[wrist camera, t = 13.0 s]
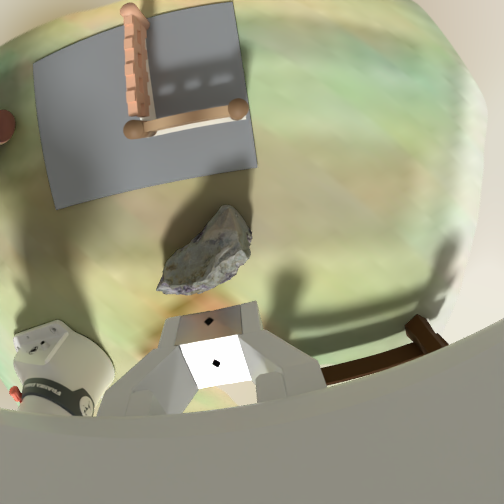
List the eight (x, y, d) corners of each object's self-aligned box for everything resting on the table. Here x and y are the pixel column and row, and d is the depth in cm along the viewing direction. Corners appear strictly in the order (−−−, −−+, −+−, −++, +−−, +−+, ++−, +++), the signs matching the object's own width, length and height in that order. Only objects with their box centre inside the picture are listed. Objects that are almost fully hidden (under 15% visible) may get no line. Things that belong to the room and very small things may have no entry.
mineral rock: (166, 288, 42) (151, 331, 33) (147, 215, 38) (122, 243, 28) (257, 275, 42) (265, 317, 33) (246, 198, 38) (252, 222, 29)
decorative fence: (255, 374, 49) (264, 446, 36) (250, 349, 47) (258, 425, 33) (430, 331, 50) (470, 382, 36) (435, 306, 47) (481, 356, 33)
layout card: (57, 209, 36) (55, 210, 35) (34, 63, 27) (32, 63, 27) (257, 167, 36) (257, 167, 36) (232, 3, 28) (232, 1, 27)
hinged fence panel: (154, 115, 32) (140, 113, 26) (140, 118, 32) (123, 116, 26) (149, 18, 27) (136, 0, 21) (135, 21, 27) (120, 5, 21)
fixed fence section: (143, 138, 33) (124, 141, 27) (140, 123, 33) (121, 122, 26) (246, 119, 34) (250, 116, 27) (244, 103, 33) (247, 96, 26)
